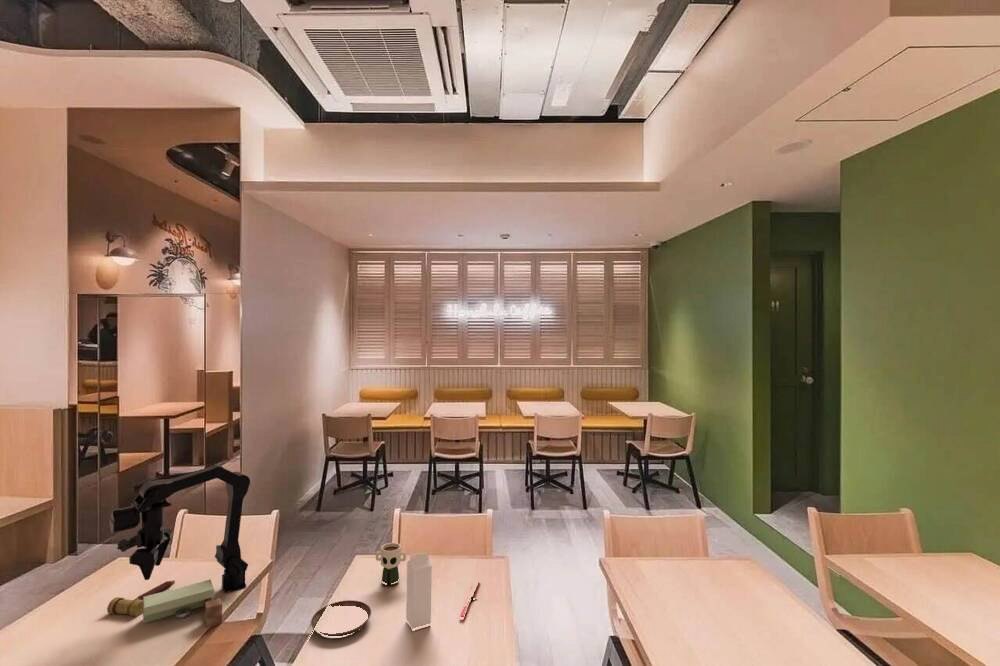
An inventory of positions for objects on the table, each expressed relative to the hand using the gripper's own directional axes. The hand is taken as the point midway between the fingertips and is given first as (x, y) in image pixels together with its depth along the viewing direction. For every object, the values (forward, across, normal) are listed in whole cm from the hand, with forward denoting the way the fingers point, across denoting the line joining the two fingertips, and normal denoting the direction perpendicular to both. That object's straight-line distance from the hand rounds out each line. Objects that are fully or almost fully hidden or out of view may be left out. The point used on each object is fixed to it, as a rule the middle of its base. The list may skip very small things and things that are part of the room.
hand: (152, 572), depth 151 cm
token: (+14, +3, +9) cm, 17 cm away
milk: (+15, +29, +79) cm, 85 cm away
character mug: (+15, +1, +73) cm, 75 cm away
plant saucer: (+15, +22, +56) cm, 62 cm away
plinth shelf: (+14, +2, +8) cm, 16 cm away
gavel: (+14, -11, -4) cm, 19 cm away
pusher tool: (+14, +5, +17) cm, 23 cm away
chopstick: (+16, +21, +98) cm, 101 cm away
